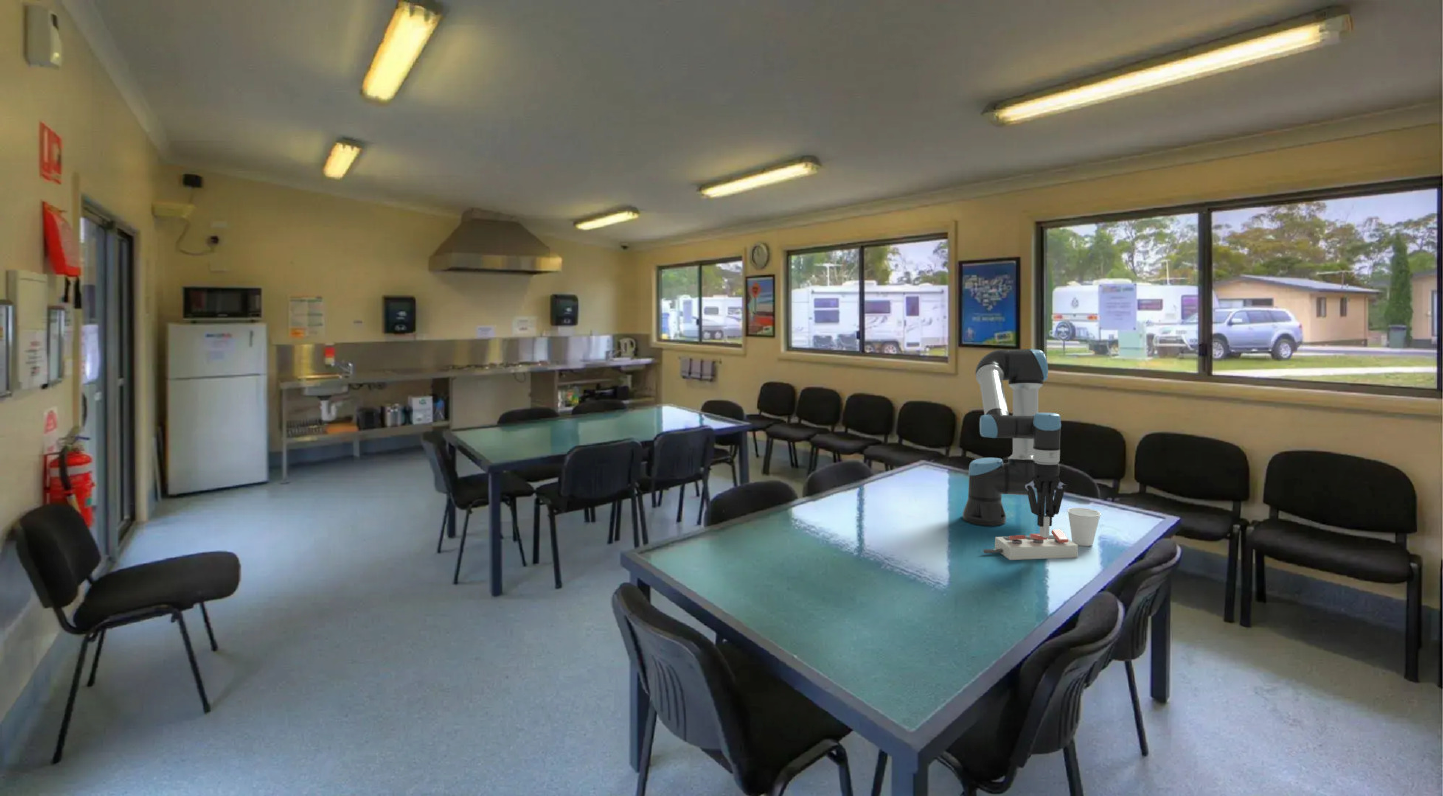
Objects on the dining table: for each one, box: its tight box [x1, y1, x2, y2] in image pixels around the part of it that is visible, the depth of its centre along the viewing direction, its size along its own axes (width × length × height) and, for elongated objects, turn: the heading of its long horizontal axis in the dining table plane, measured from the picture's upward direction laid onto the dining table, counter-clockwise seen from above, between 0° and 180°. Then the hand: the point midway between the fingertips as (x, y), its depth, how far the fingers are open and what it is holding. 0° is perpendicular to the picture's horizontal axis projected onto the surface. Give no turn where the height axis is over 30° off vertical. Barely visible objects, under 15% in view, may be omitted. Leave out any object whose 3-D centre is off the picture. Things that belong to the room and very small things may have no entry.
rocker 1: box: [1008, 534, 1026, 540], centre depth 207 cm, size 5×3×1 cm, turn 2°
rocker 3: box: [1050, 529, 1070, 543], centre depth 208 cm, size 5×3×1 cm, turn 3°
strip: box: [982, 534, 1079, 561], centre depth 209 cm, size 10×28×5 cm, turn 93°
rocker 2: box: [1029, 533, 1047, 540], centre depth 207 cm, size 5×3×1 cm, turn 2°
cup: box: [1066, 507, 1102, 547], centre depth 217 cm, size 10×10×11 cm
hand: (1044, 536), depth 204 cm, fingers closed
